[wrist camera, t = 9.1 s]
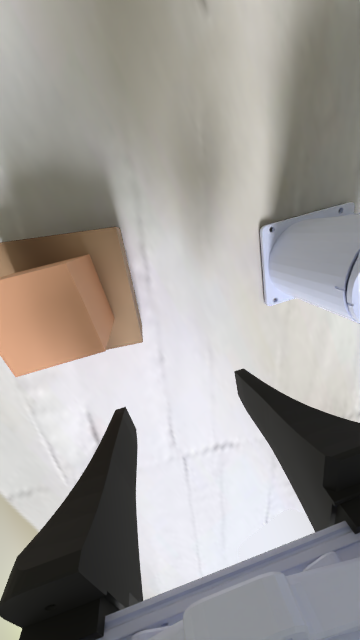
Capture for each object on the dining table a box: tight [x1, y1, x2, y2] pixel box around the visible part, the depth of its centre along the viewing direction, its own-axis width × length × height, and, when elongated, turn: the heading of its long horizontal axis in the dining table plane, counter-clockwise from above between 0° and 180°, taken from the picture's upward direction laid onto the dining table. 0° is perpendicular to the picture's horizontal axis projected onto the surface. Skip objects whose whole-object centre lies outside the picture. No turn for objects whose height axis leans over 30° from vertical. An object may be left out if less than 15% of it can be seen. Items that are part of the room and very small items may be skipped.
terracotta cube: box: [0, 254, 115, 377], centre depth 13 cm, size 5×5×5 cm
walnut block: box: [0, 227, 143, 350], centre depth 17 cm, size 9×9×4 cm
